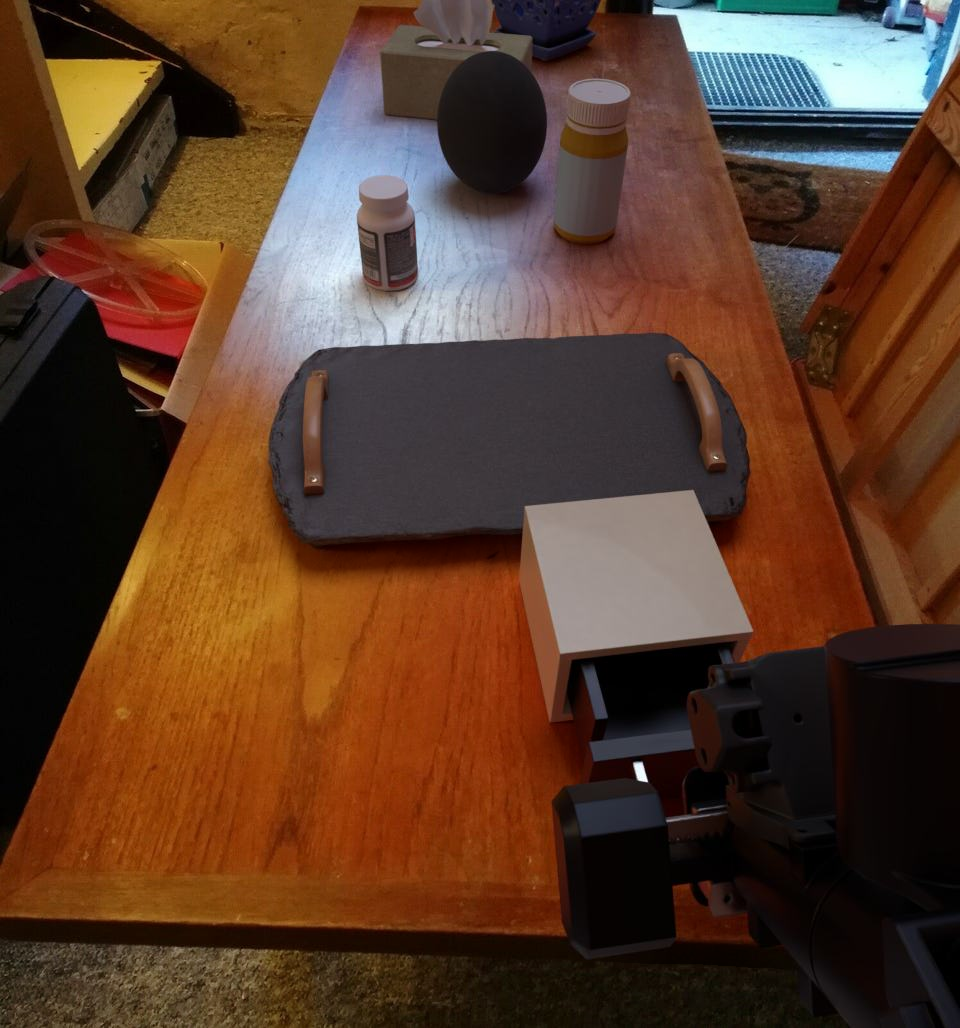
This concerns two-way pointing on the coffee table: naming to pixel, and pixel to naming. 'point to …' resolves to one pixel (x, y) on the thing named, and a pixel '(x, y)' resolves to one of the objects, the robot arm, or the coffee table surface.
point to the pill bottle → (387, 233)
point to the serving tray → (498, 434)
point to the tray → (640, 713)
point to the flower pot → (548, 23)
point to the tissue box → (439, 53)
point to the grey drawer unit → (623, 584)
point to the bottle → (591, 161)
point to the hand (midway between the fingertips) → (710, 769)
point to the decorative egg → (492, 122)
